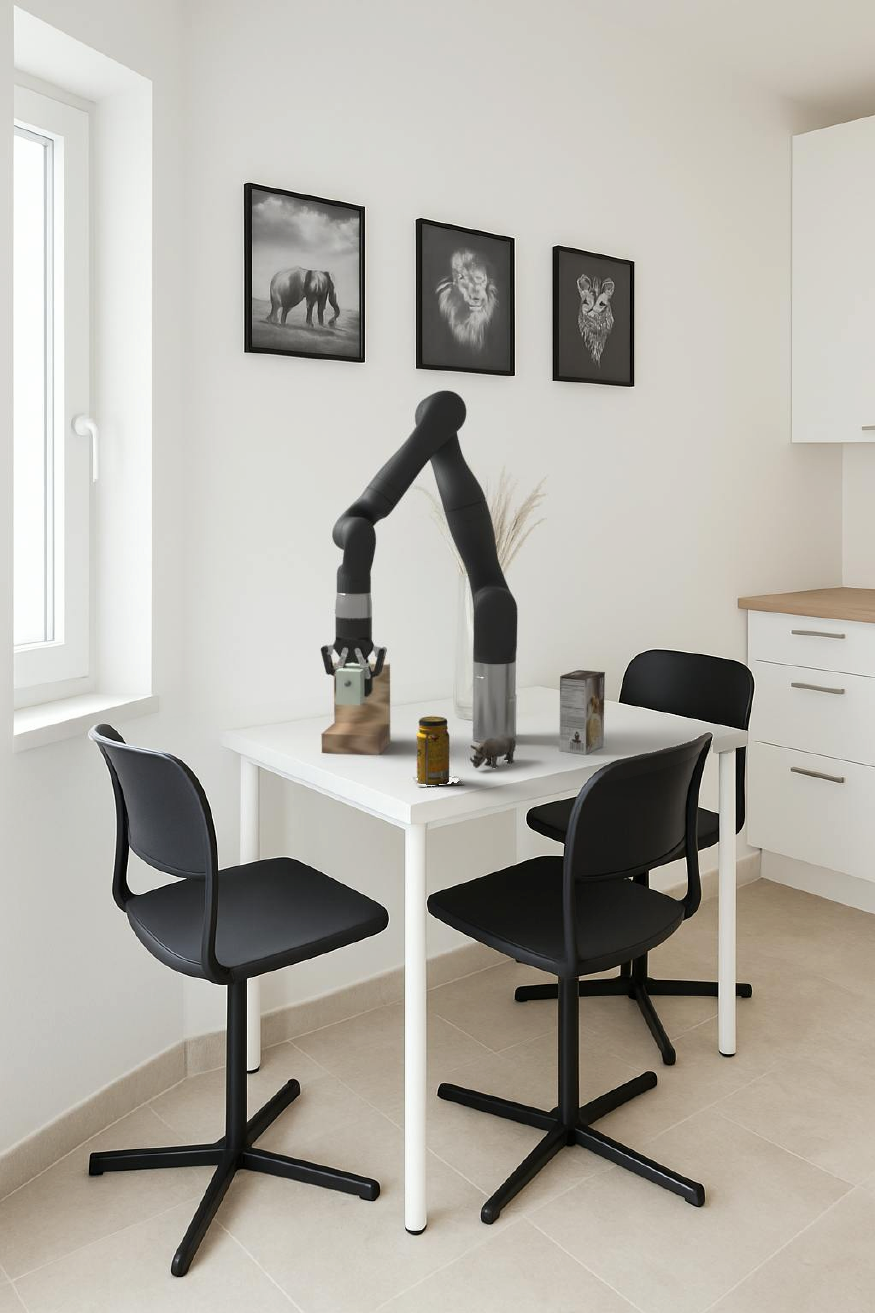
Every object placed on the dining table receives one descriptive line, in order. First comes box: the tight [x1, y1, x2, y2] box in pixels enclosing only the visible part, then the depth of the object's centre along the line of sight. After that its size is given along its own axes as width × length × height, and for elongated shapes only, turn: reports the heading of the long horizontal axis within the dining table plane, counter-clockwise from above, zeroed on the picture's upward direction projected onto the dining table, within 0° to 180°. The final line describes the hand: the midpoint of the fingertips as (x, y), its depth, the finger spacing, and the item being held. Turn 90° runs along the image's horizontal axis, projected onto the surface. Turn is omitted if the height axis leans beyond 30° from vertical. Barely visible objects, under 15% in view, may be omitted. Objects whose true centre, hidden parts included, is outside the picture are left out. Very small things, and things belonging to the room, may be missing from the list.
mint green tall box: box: [336, 663, 371, 706], centre depth 222 cm, size 5×11×7 cm, turn 171°
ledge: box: [321, 722, 390, 756], centre depth 225 cm, size 12×11×4 cm
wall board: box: [333, 661, 391, 743], centre depth 230 cm, size 12×2×17 cm, turn 82°
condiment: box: [412, 715, 465, 788], centre depth 198 cm, size 7×8×12 cm
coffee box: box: [558, 669, 606, 756], centre depth 223 cm, size 9×6×16 cm
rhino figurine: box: [469, 733, 517, 769], centre depth 209 cm, size 4×14×6 cm, turn 138°
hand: (353, 695), depth 223 cm, fingers closed on mint green tall box, 5 cm apart
